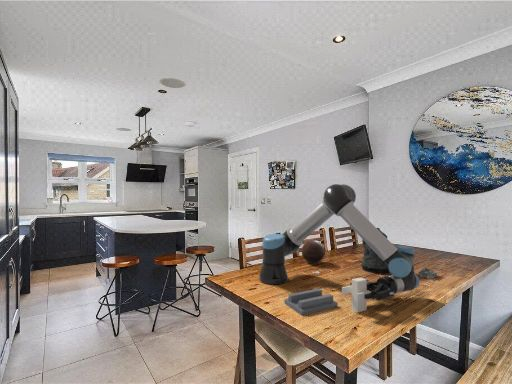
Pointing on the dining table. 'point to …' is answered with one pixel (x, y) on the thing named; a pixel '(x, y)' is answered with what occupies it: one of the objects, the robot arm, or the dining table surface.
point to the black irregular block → (373, 260)
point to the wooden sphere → (313, 251)
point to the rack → (310, 301)
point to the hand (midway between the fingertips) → (349, 294)
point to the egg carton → (427, 273)
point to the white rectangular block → (358, 287)
